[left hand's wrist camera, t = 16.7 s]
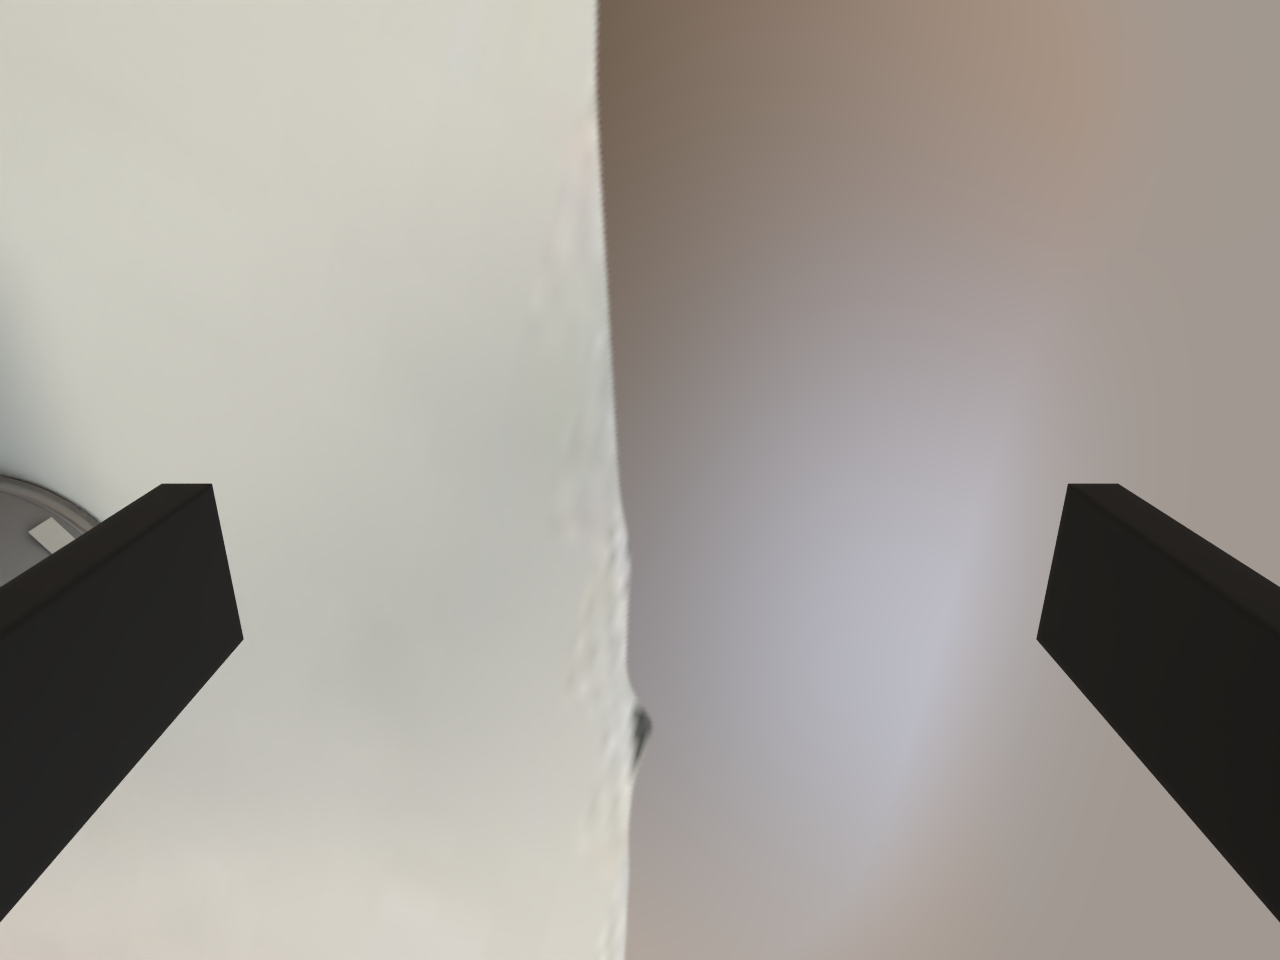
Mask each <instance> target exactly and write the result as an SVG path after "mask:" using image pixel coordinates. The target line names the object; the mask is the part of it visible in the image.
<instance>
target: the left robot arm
mask: <svg viewBox="0 0 1280 960" xmlns="http://www.w3.org/2000/svg"><path fill="white" fill-rule="evenodd" d="M242 640H243V634H242V629H241V624H240V619H239V614H238V609H237V605H236V600H235V595H234V590H233V585H232V580H231V575H230V570H229V565H228V560H227V555H226V550H225V546H224V541H223V536H222V531H221V526H220V521H219V516H218V511H217V506H216V501H215V496H214V492H213V487H212V484H161V485H159V486H158V487H156V488H154V489H153V490H151V491H150V492H148V493H147V494H145V495H143V496H142V497H140V498H139V499H137V500H136V501H134V502H133V503H131V504H129V505H128V506H126V507H125V508H123V509H122V510H120V511H118V512H117V513H115V514H114V515H112V516H111V517H109V518H108V519H106V520H104V521H103V522H101V523H100V524H99V523H98V522H96V521H95V520H94V519H93V518H91V517H90V516H89V515H88V514H86V513H85V512H84V511H82V510H81V509H79V508H78V507H76V506H75V505H73V504H72V503H70V502H68V501H66V500H65V499H63V498H61V497H59V496H57V495H55V494H53V493H51V492H49V491H47V490H45V489H42V488H39V487H37V486H34V485H32V484H29V483H25V482H22V481H19V480H15V479H10V478H6V477H1V476H0V922H1V921H2V920H3V918H4V917H5V916H6V915H7V914H8V913H9V911H10V910H11V909H12V908H13V907H14V906H15V904H16V903H17V902H18V901H19V900H20V899H21V897H22V896H23V895H24V894H25V893H26V892H27V890H28V889H29V888H30V887H31V886H32V885H33V883H34V882H35V881H36V880H37V879H38V878H39V877H40V875H41V874H42V873H43V872H44V871H45V870H46V868H47V867H48V866H49V865H50V864H51V863H52V861H53V860H54V859H55V858H56V857H57V856H58V854H59V853H60V852H61V851H62V850H63V849H64V847H65V846H66V845H67V844H68V843H69V842H70V840H71V839H72V838H73V837H74V836H75V835H76V833H77V832H78V831H79V830H80V829H81V828H82V827H83V825H84V824H85V823H86V822H87V821H88V820H89V818H90V817H91V816H92V815H93V814H94V813H95V811H96V810H97V809H98V808H99V807H100V806H101V804H102V803H103V802H104V801H105V800H106V799H107V797H108V796H109V795H110V794H111V793H112V792H113V790H114V789H115V788H116V787H117V786H118V785H119V783H120V782H121V781H122V780H123V779H124V778H125V776H126V775H127V774H128V773H129V772H130V771H131V770H132V768H133V767H134V766H135V765H136V764H137V763H138V761H139V760H140V759H141V758H142V757H143V756H144V754H145V753H146V752H147V751H148V750H149V749H150V747H151V746H152V745H153V744H154V743H155V742H156V740H157V739H158V738H159V737H160V736H161V735H162V733H163V732H164V731H165V730H166V729H167V728H168V726H169V725H170V724H171V723H172V722H173V721H174V720H175V718H176V717H177V716H178V715H179V714H180V713H181V711H182V710H183V709H184V708H185V707H186V706H187V704H188V703H189V702H190V701H191V700H192V699H193V697H194V696H195V695H196V694H197V693H198V692H199V690H200V689H201V688H202V687H203V686H204V685H205V683H206V682H207V681H208V680H209V679H210V678H211V676H212V675H213V674H214V673H215V672H216V671H217V670H218V668H219V667H220V666H221V665H222V664H223V663H224V661H225V660H226V659H227V658H228V657H229V656H230V654H231V653H232V652H233V651H234V650H235V649H236V647H237V646H238V645H239V644H240V643H241V642H242ZM1037 640H1038V642H1039V643H1040V644H1041V645H1042V646H1043V647H1044V649H1045V650H1046V651H1047V652H1048V653H1049V654H1050V656H1051V657H1052V658H1053V659H1054V660H1055V661H1056V663H1057V664H1058V665H1059V666H1060V667H1061V668H1062V669H1063V671H1064V672H1065V673H1066V674H1067V675H1068V676H1069V678H1070V679H1071V680H1072V681H1073V682H1074V683H1075V685H1076V686H1077V687H1078V688H1079V689H1080V690H1081V692H1082V693H1083V694H1084V695H1085V696H1086V697H1087V699H1088V700H1089V701H1090V702H1091V703H1092V704H1093V706H1094V707H1095V708H1096V709H1097V710H1098V711H1099V713H1100V714H1101V715H1102V716H1103V717H1104V718H1105V719H1106V721H1107V722H1108V723H1109V724H1110V725H1111V726H1112V728H1113V729H1114V730H1115V731H1116V732H1117V733H1118V735H1119V736H1120V737H1121V738H1122V739H1123V740H1124V742H1125V743H1126V744H1127V745H1128V746H1129V747H1130V749H1131V750H1132V751H1133V752H1134V753H1135V754H1136V756H1137V757H1138V758H1139V759H1140V760H1141V761H1142V763H1143V764H1144V765H1145V766H1146V767H1147V768H1148V770H1149V771H1150V772H1151V773H1152V774H1153V775H1154V776H1155V778H1156V779H1157V780H1158V781H1159V782H1160V783H1161V785H1162V786H1163V787H1164V788H1165V789H1166V790H1167V792H1168V793H1169V794H1170V795H1171V796H1172V797H1173V799H1174V800H1175V801H1176V802H1177V803H1178V804H1179V806H1180V807H1181V808H1182V809H1183V810H1184V811H1185V812H1186V814H1187V815H1188V816H1189V817H1190V818H1191V820H1192V821H1193V822H1194V823H1195V824H1196V825H1197V827H1198V828H1199V829H1200V830H1201V831H1202V832H1203V833H1204V835H1205V836H1206V837H1207V838H1208V839H1209V840H1210V842H1211V843H1212V844H1213V845H1214V846H1215V847H1216V849H1217V850H1218V851H1219V852H1220V853H1221V854H1222V856H1223V857H1224V858H1225V859H1226V860H1227V861H1228V863H1229V864H1230V865H1231V866H1232V867H1233V868H1234V870H1235V871H1236V872H1237V873H1238V874H1239V875H1240V877H1241V878H1242V879H1243V880H1244V881H1245V882H1246V883H1247V885H1248V886H1249V887H1250V888H1251V889H1252V890H1253V892H1254V893H1255V894H1256V895H1257V896H1258V897H1259V899H1260V900H1261V901H1262V902H1263V903H1264V904H1265V906H1266V907H1267V908H1268V909H1269V910H1270V911H1271V913H1272V914H1273V915H1274V916H1275V917H1276V918H1277V919H1278V921H1279V922H1280V587H1279V586H1277V585H1276V584H1274V583H1273V582H1271V581H1269V580H1268V579H1266V578H1265V577H1263V576H1262V575H1260V574H1259V573H1257V572H1255V571H1254V570H1252V569H1251V568H1249V567H1248V566H1246V565H1244V564H1243V563H1241V562H1240V561H1238V560H1237V559H1235V558H1234V557H1232V556H1230V555H1229V554H1227V553H1226V552H1224V551H1223V550H1221V549H1219V548H1218V547H1216V546H1215V545H1213V544H1212V543H1210V542H1208V541H1207V540H1205V539H1204V538H1202V537H1201V536H1199V535H1198V534H1196V533H1194V532H1193V531H1191V530H1190V529H1188V528H1187V527H1185V526H1183V525H1182V524H1180V523H1179V522H1177V521H1176V520H1174V519H1172V518H1171V517H1169V516H1168V515H1166V514H1165V513H1163V512H1162V511H1160V510H1158V509H1157V508H1155V507H1154V506H1152V505H1151V504H1149V503H1147V502H1146V501H1144V500H1143V499H1141V498H1140V497H1138V496H1136V495H1135V494H1133V493H1132V492H1130V491H1129V490H1127V489H1126V488H1124V487H1122V486H1121V485H1119V484H1068V487H1067V492H1066V496H1065V501H1064V506H1063V511H1062V516H1061V521H1060V526H1059V531H1058V536H1057V541H1056V546H1055V550H1054V556H1053V560H1052V565H1051V570H1050V575H1049V580H1048V585H1047V590H1046V595H1045V600H1044V605H1043V609H1042V614H1041V619H1040V624H1039V629H1038V634H1037Z"/></svg>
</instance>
